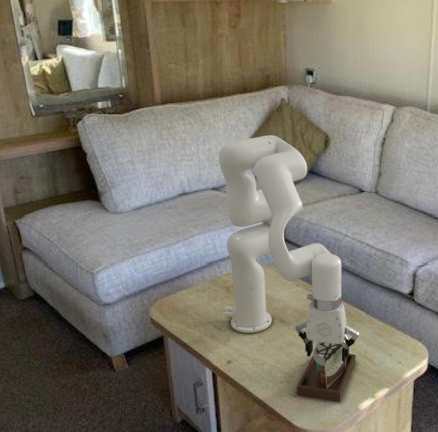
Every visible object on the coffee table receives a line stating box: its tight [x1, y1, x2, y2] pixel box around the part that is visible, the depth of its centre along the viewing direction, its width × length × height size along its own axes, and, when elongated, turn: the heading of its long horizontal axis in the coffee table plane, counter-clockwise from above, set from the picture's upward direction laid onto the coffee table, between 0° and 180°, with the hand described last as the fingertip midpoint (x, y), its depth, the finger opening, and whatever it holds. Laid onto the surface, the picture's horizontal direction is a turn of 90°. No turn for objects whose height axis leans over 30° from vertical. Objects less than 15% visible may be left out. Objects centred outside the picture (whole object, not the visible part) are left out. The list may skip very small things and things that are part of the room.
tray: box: [296, 353, 357, 403], centre depth 170 cm, size 12×18×3 cm, turn 168°
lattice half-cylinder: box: [312, 342, 346, 389], centre depth 168 cm, size 12×6×10 cm, turn 150°
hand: (327, 356), depth 168 cm, fingers open, 9 cm apart
